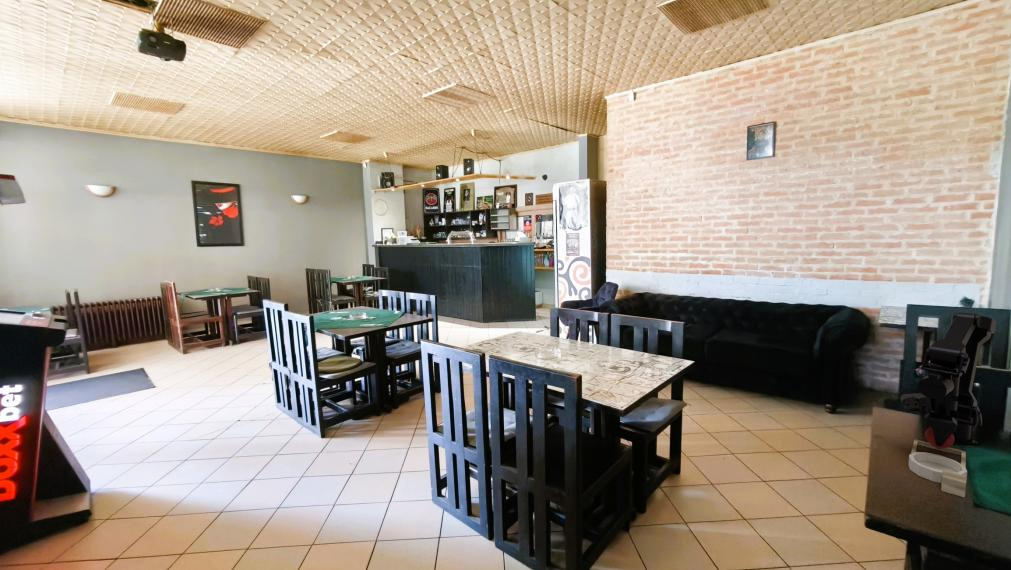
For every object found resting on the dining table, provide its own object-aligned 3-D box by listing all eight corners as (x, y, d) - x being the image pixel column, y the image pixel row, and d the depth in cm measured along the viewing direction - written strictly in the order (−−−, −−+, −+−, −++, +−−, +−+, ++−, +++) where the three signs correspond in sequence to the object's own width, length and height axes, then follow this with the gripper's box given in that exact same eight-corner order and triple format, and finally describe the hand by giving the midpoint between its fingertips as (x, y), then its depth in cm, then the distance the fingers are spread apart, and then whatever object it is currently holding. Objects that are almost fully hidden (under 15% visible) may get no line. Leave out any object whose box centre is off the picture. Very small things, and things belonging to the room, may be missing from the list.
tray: (914, 442, 128) (914, 439, 127) (965, 455, 120) (965, 451, 120) (910, 456, 121) (911, 452, 120) (965, 470, 113) (965, 466, 113)
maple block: (941, 484, 108) (942, 469, 108) (964, 490, 105) (965, 475, 105) (941, 491, 105) (942, 476, 105) (964, 497, 103) (966, 482, 102)
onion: (959, 454, 116) (961, 427, 115) (934, 453, 118) (936, 427, 117) (942, 444, 122) (944, 418, 121) (919, 443, 123) (920, 417, 122)
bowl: (941, 462, 117) (941, 452, 117) (977, 485, 107) (978, 474, 106) (898, 461, 119) (899, 451, 118) (931, 484, 108) (931, 473, 108)
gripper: (907, 374, 130) (903, 421, 132) (900, 392, 117) (897, 444, 119) (959, 382, 121) (955, 433, 123) (959, 403, 109) (954, 458, 111)
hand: (939, 441), depth 120 cm, fingers closed on onion, 6 cm apart
